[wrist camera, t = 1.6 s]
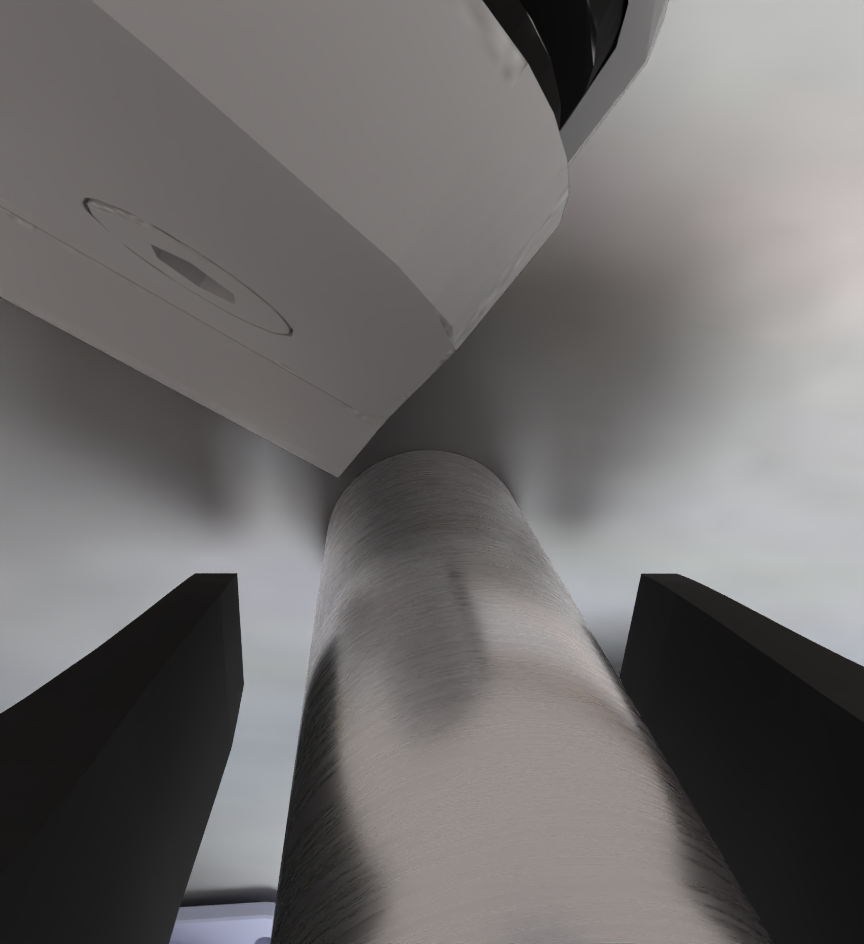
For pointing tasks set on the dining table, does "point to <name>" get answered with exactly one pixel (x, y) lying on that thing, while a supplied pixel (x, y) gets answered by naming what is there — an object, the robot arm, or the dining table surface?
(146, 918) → the robot arm
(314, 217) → the white slotted housing
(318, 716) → the tall pin
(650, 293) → the dining table surface
